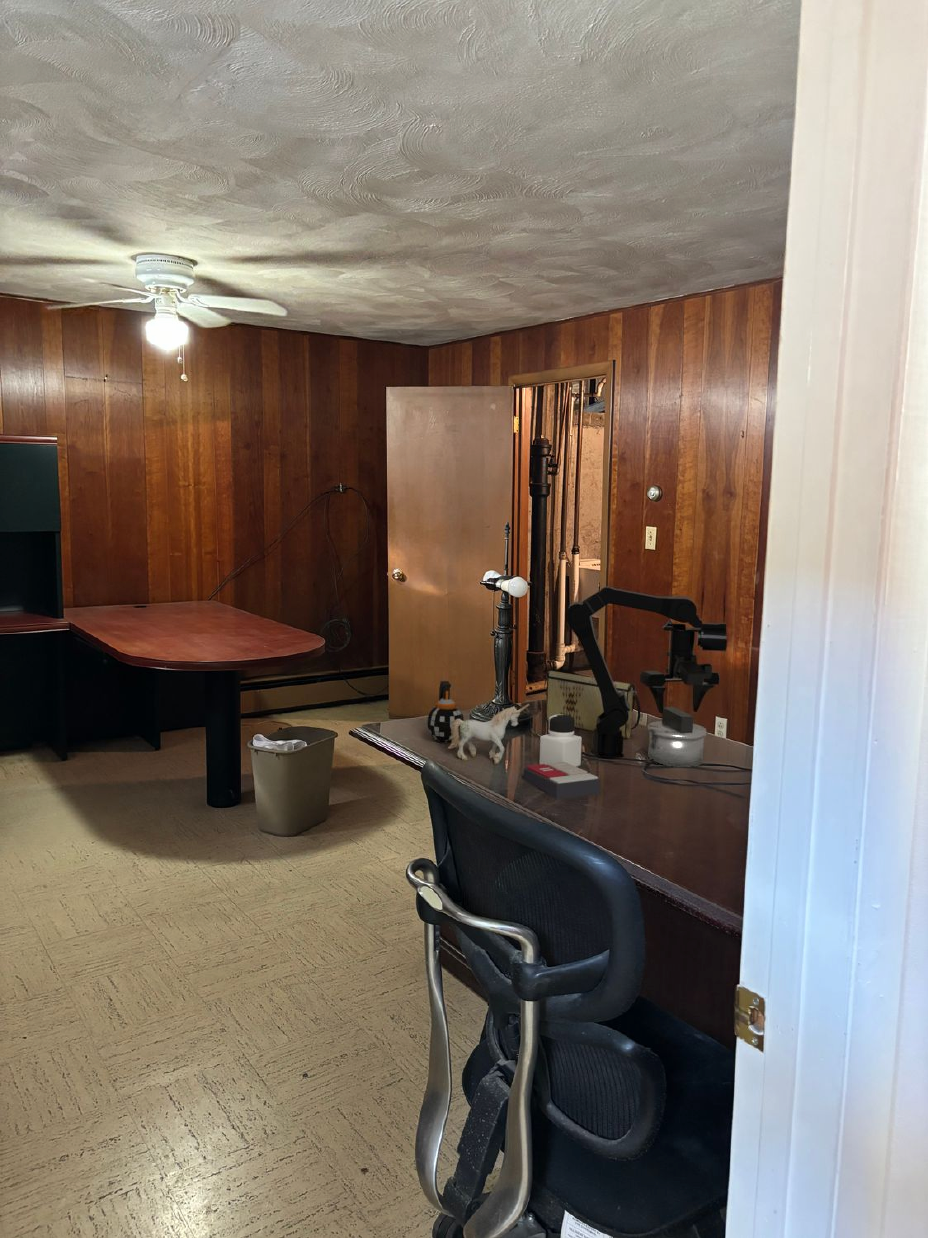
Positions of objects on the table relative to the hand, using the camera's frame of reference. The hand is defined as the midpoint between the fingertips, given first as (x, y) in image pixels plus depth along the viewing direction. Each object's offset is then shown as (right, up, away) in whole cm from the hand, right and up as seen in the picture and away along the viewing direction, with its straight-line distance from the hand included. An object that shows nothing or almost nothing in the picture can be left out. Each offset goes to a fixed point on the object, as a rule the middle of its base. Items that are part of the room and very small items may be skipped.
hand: (678, 712), depth 217 cm
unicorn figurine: (-46, -11, -1) cm, 48 cm away
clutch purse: (-17, -8, +30) cm, 35 cm away
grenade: (-57, -9, +14) cm, 59 cm away
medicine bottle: (-29, -12, -6) cm, 32 cm away
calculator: (-31, -15, -21) cm, 40 cm away
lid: (0, -5, +1) cm, 5 cm away
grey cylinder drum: (0, -12, +2) cm, 12 cm away
